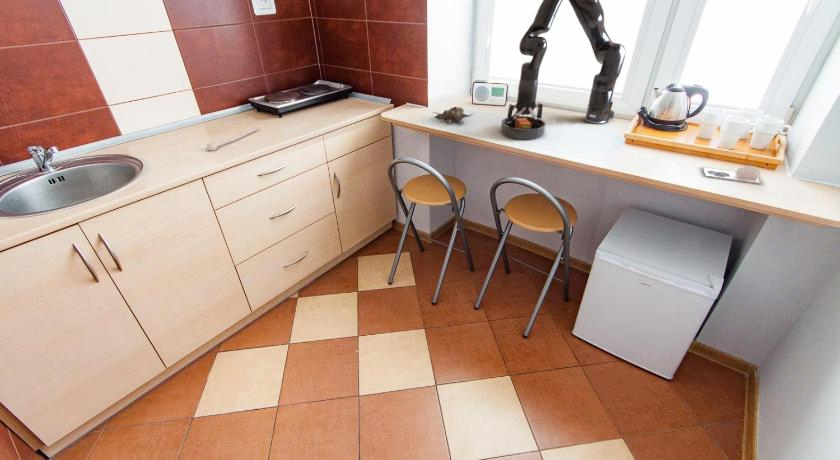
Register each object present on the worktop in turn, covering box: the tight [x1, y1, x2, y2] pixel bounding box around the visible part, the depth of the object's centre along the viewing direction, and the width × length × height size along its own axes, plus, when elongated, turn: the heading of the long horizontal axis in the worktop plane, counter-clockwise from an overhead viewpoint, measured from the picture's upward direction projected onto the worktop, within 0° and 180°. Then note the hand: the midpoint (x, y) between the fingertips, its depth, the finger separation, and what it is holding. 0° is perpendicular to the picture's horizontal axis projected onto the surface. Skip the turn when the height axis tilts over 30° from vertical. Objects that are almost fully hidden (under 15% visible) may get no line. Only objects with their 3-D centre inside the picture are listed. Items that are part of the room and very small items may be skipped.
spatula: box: [206, 127, 259, 152], centre depth 170 cm, size 28×4×3 cm, turn 158°
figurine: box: [432, 106, 474, 125], centre depth 186 cm, size 20×6×17 cm
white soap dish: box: [702, 165, 762, 185], centre depth 128 cm, size 15×7×4 cm, turn 65°
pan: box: [500, 115, 547, 141], centre depth 168 cm, size 19×19×4 cm
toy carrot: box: [515, 118, 531, 129], centre depth 169 cm, size 13×4×5 cm, turn 3°
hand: (522, 128), depth 169 cm, fingers open, 8 cm apart
